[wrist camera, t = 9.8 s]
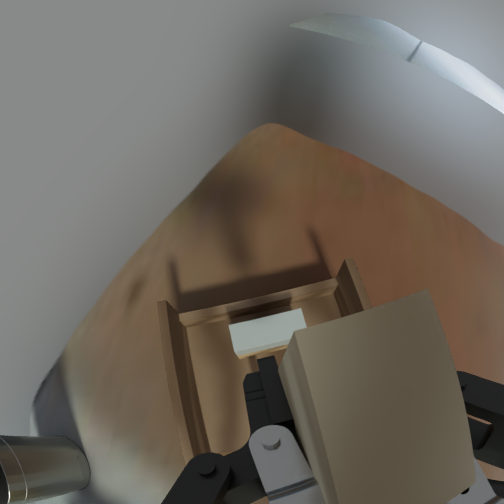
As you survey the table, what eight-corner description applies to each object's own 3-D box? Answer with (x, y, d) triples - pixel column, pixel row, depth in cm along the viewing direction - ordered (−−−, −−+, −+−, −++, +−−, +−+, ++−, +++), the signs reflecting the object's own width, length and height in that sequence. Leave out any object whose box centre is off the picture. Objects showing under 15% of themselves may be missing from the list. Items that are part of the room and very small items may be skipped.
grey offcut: (237, 355, 31) (234, 351, 29) (231, 331, 33) (228, 325, 30) (305, 339, 32) (308, 333, 29) (298, 315, 33) (301, 308, 31)
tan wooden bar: (286, 438, 15) (349, 549, 2) (271, 382, 17) (293, 330, 4) (323, 428, 16) (476, 481, 2) (309, 372, 17) (427, 288, 4)
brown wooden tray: (205, 453, 29) (186, 468, 21) (180, 324, 38) (157, 301, 30) (373, 410, 30) (404, 411, 22) (335, 288, 39) (352, 257, 31)
